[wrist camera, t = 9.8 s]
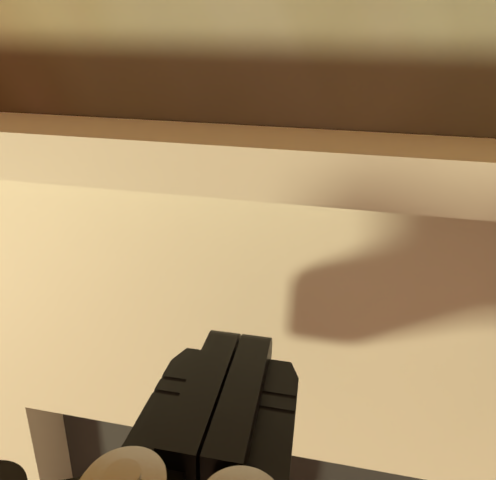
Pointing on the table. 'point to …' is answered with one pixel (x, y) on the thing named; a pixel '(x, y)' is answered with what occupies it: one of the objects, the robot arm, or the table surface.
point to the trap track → (250, 285)
